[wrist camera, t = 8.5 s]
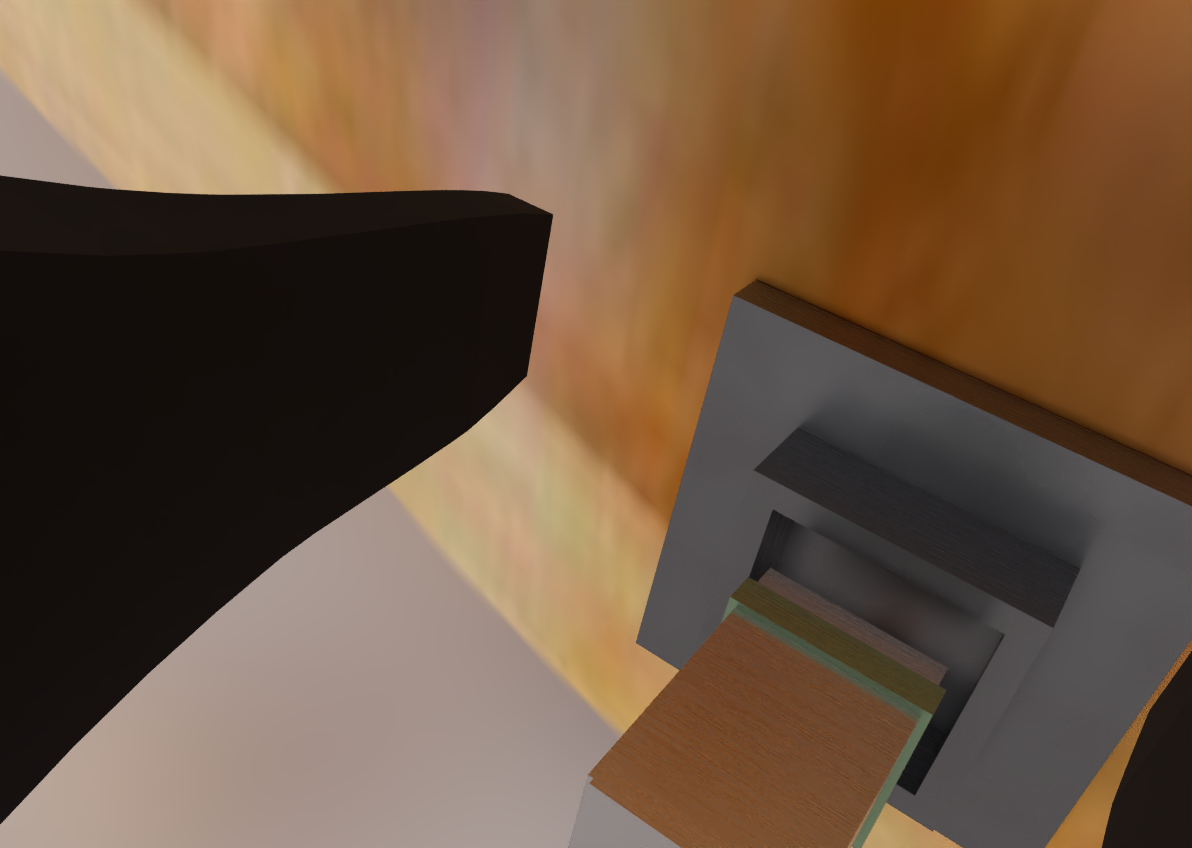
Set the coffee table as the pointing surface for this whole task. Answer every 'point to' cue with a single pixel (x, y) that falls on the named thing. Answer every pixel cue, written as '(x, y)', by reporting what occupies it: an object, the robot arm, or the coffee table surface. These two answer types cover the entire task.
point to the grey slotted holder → (936, 553)
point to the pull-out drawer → (767, 733)
